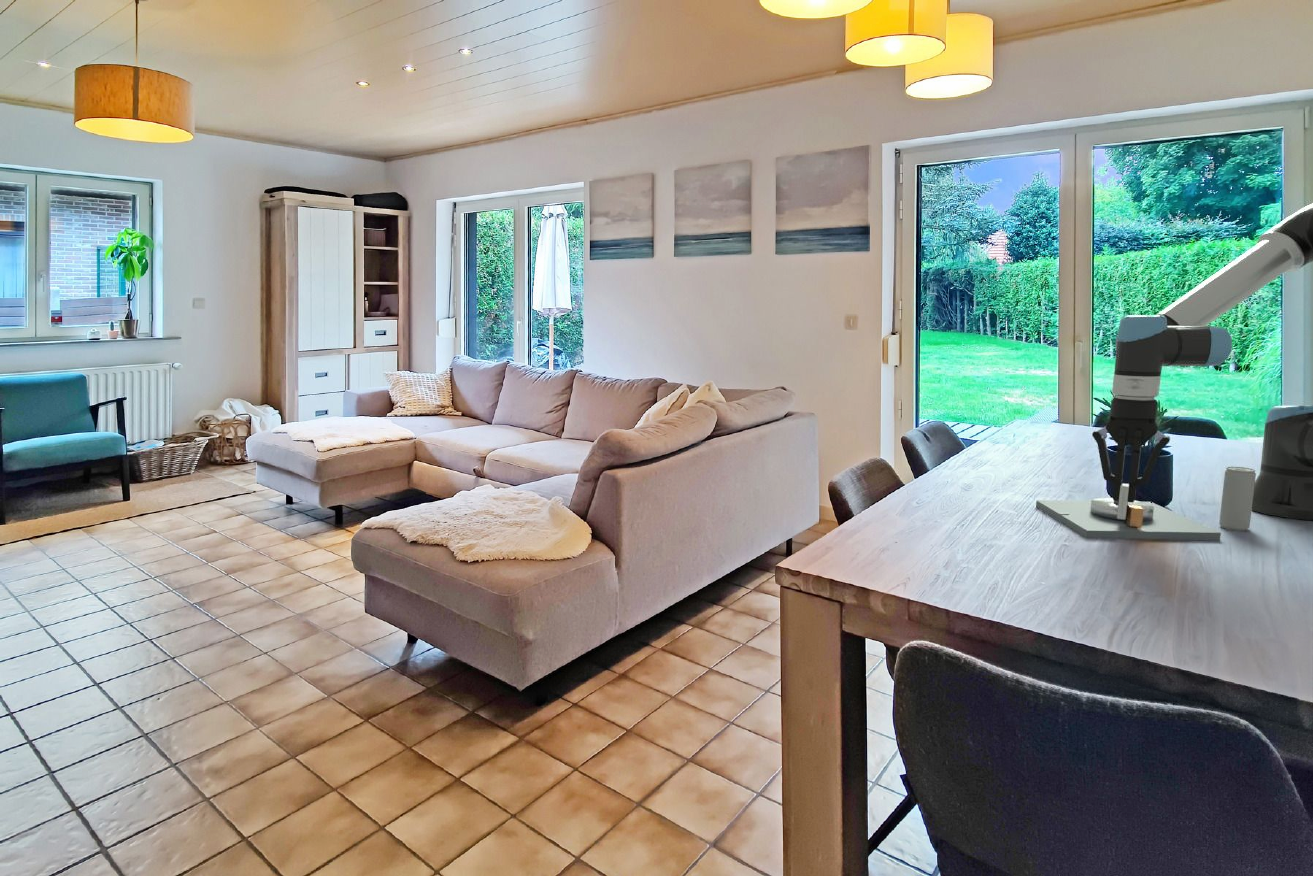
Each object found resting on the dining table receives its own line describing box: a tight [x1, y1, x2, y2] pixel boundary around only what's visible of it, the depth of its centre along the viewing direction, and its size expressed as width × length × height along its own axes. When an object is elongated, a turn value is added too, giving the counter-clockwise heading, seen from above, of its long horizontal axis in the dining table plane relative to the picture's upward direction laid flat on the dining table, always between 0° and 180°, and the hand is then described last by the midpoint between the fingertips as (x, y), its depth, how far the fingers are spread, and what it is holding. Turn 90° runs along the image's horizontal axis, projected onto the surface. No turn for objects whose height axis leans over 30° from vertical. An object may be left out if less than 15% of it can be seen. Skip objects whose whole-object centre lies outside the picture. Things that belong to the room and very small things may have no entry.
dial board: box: [1035, 499, 1222, 541], centre depth 155 cm, size 24×24×2 cm
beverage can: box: [1218, 466, 1257, 532], centre depth 149 cm, size 5×5×12 cm
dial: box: [1090, 497, 1154, 527], centre depth 152 cm, size 16×11×4 cm
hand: (1121, 517), depth 147 cm, fingers closed
